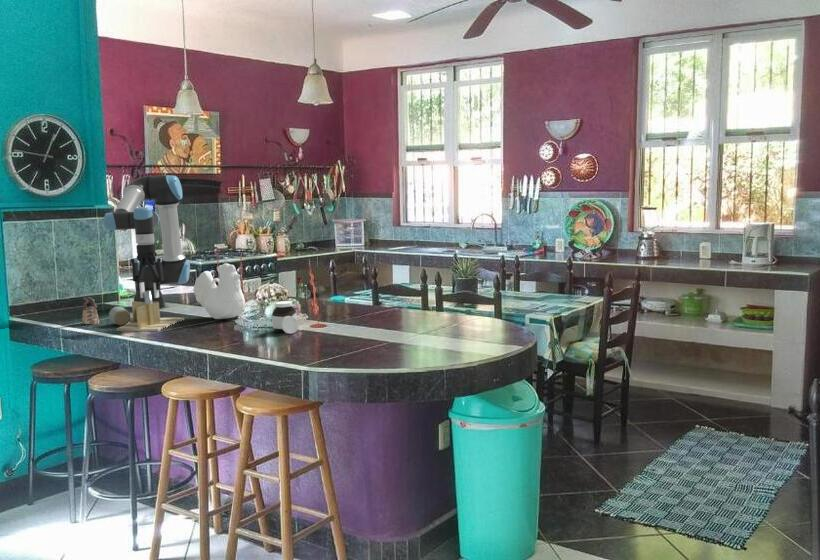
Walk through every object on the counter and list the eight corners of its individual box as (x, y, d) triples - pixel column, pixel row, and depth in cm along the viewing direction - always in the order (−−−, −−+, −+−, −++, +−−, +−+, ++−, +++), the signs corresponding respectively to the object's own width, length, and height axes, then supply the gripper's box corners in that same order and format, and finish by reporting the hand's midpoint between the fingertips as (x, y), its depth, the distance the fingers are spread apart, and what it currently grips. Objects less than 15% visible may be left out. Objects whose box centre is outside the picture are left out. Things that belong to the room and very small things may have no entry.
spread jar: (285, 327, 320) (283, 300, 319) (307, 329, 315) (306, 301, 313) (267, 333, 310) (265, 305, 308) (290, 335, 305) (288, 306, 303)
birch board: (144, 319, 350) (144, 317, 349) (184, 319, 346) (184, 317, 346) (116, 330, 326) (116, 328, 326) (158, 330, 323) (158, 328, 323)
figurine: (102, 323, 346) (100, 296, 344) (87, 325, 341) (85, 298, 339) (94, 321, 350) (92, 295, 349) (79, 324, 345) (76, 297, 343)
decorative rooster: (254, 316, 348) (250, 261, 344) (227, 323, 335) (223, 266, 332) (216, 312, 362) (212, 259, 359) (189, 318, 349) (185, 263, 346)
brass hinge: (134, 321, 341) (133, 301, 340) (164, 321, 339) (162, 301, 337) (116, 328, 326) (114, 307, 325) (146, 328, 324) (145, 307, 323)
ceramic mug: (114, 327, 335) (113, 309, 334) (109, 324, 341) (108, 307, 340) (139, 324, 341) (138, 306, 340) (133, 321, 348) (132, 304, 347)
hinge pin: (150, 322, 337) (145, 291, 335) (157, 322, 336) (152, 290, 335) (147, 323, 334) (142, 291, 332) (153, 323, 333) (148, 291, 332)
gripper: (120, 245, 328) (125, 299, 331) (161, 244, 325) (166, 298, 328) (129, 243, 335) (134, 296, 339) (170, 242, 332) (174, 295, 335)
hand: (150, 297), depth 333 cm, fingers open, 6 cm apart
